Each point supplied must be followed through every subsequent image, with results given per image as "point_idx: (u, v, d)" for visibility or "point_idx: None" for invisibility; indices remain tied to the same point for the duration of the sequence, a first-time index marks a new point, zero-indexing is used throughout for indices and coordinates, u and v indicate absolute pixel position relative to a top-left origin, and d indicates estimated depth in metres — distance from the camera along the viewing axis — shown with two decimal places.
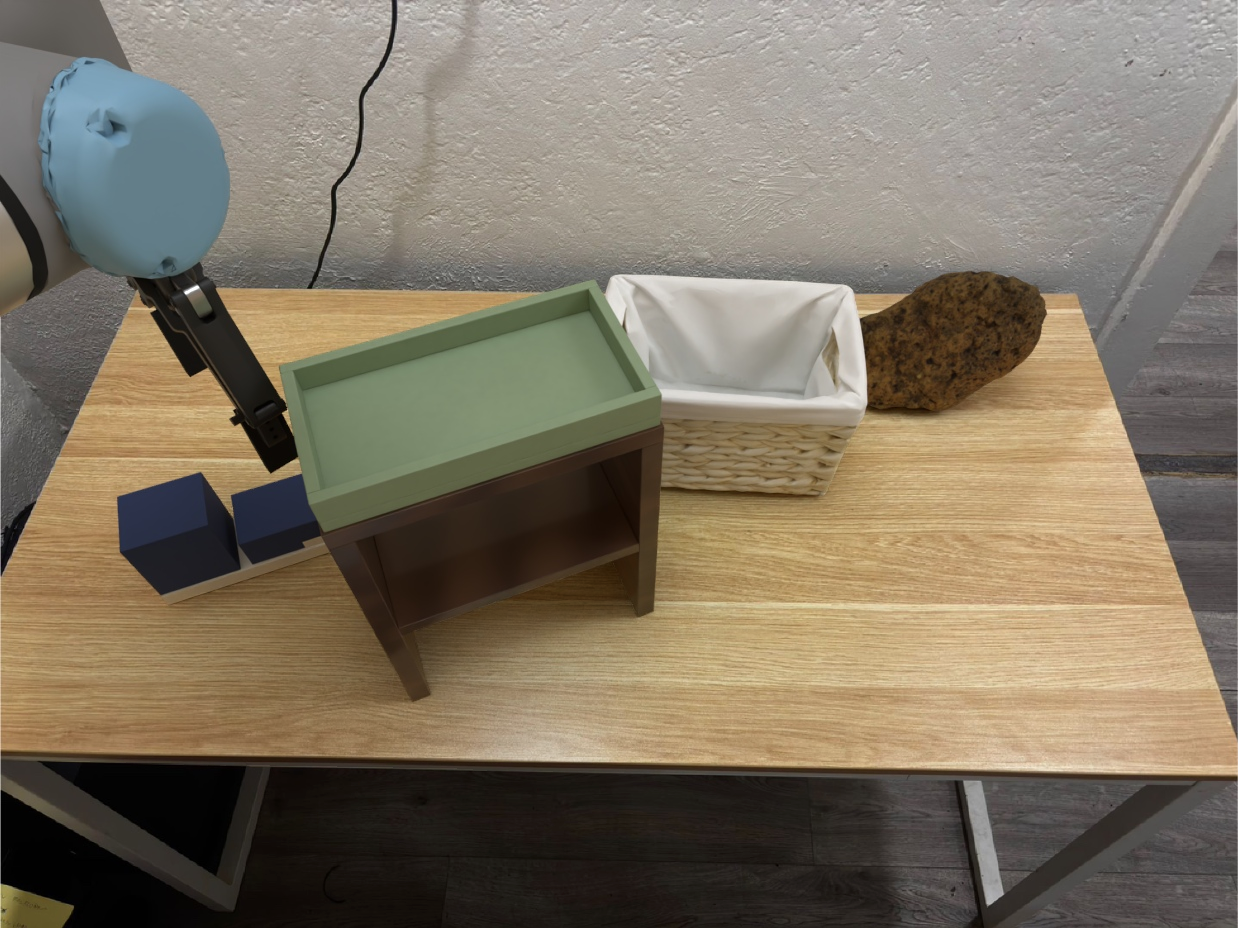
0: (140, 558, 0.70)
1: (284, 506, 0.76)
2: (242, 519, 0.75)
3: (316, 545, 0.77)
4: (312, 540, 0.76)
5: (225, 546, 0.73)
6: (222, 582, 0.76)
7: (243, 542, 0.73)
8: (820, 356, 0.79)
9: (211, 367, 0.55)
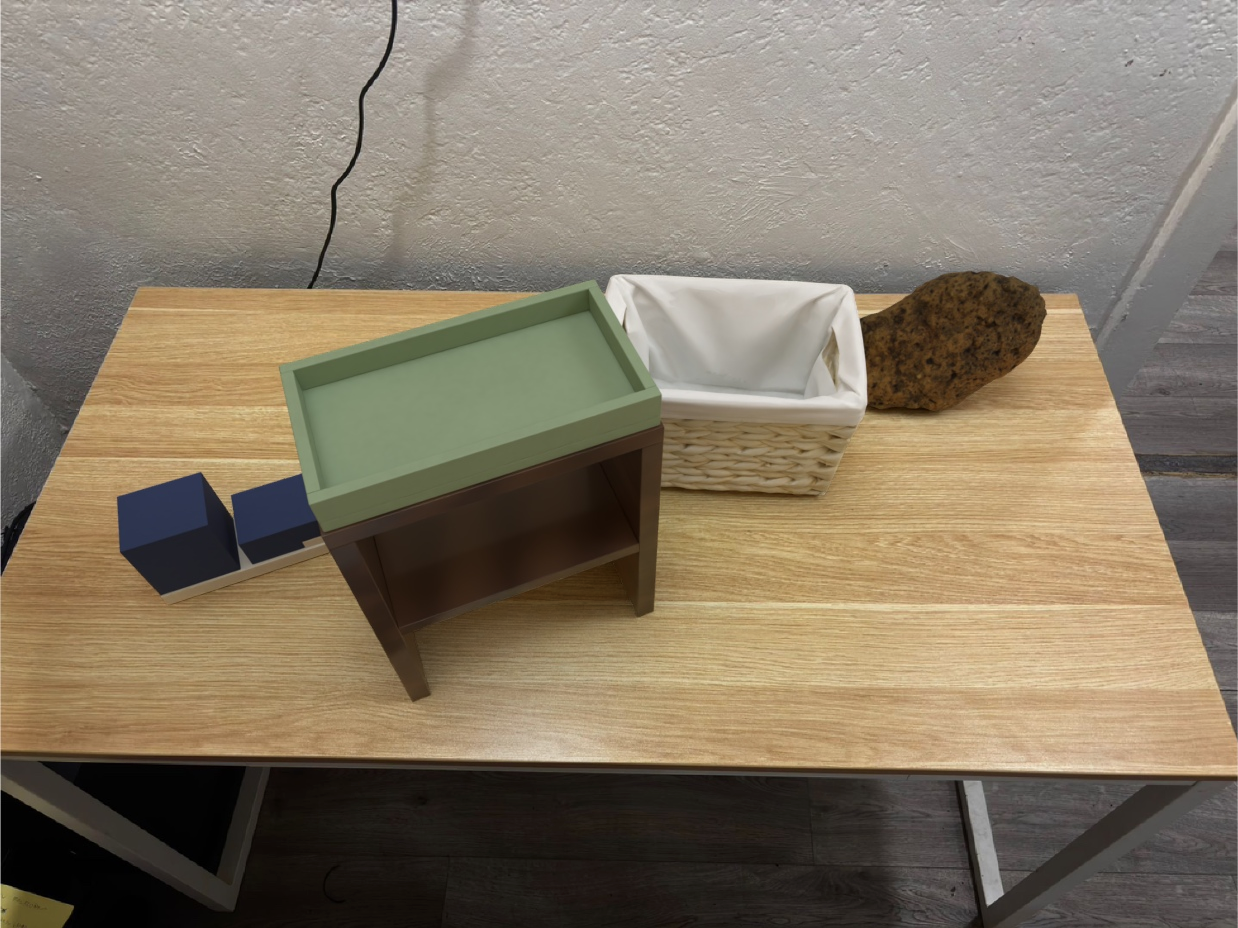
0: (140, 558, 0.70)
1: (284, 506, 0.76)
2: (242, 519, 0.75)
3: (316, 545, 0.77)
4: (312, 540, 0.76)
5: (225, 546, 0.73)
6: (222, 582, 0.76)
7: (243, 542, 0.73)
8: (820, 356, 0.79)
9: None
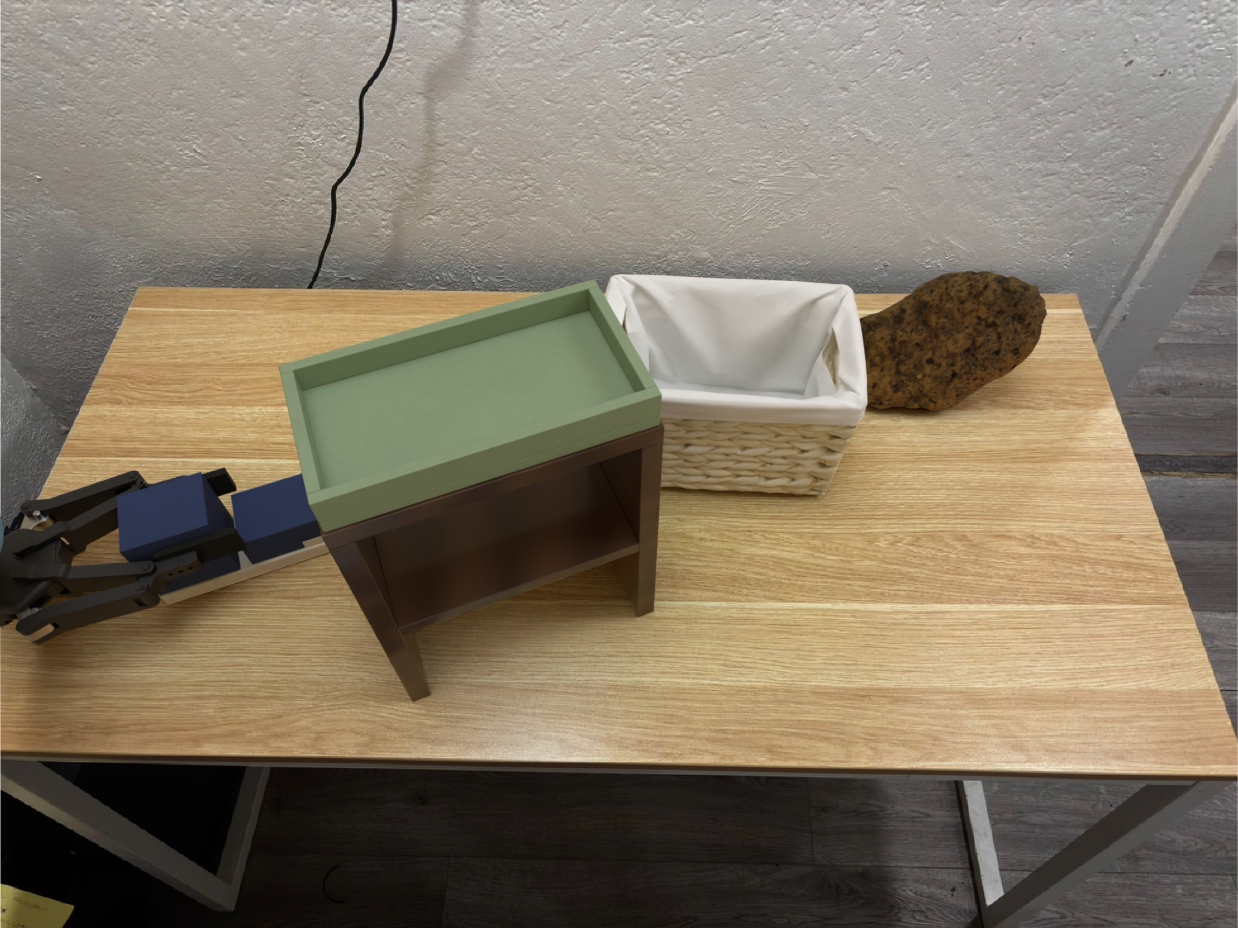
0: (140, 558, 0.70)
1: (284, 506, 0.76)
2: (242, 519, 0.75)
3: (316, 545, 0.77)
4: (311, 540, 0.76)
5: None
6: (222, 582, 0.76)
7: None
8: (820, 356, 0.79)
9: (100, 505, 0.73)
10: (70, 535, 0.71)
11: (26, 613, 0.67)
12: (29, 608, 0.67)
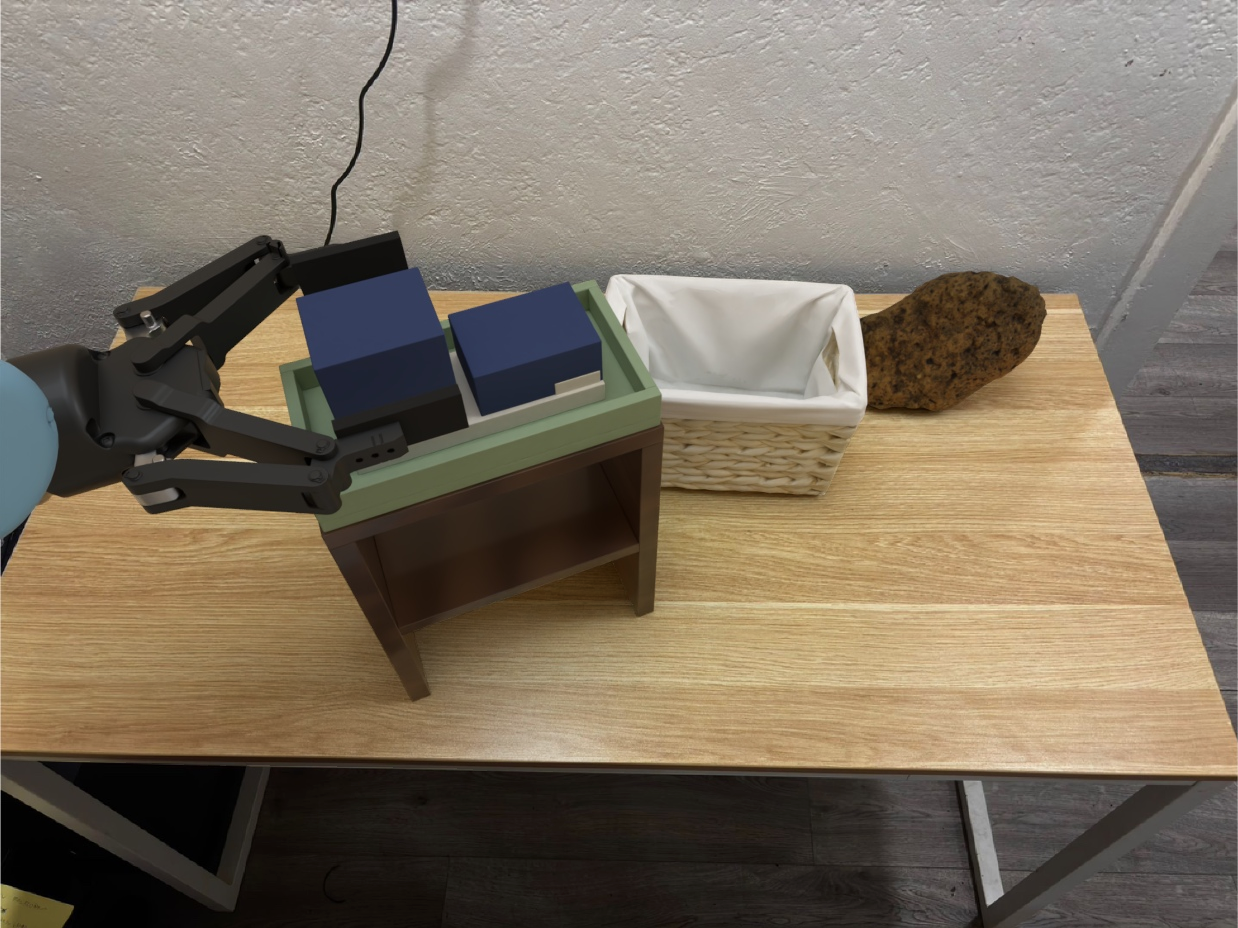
0: (340, 385, 0.45)
1: (531, 328, 0.51)
2: (471, 345, 0.50)
3: (570, 391, 0.52)
4: (567, 381, 0.51)
5: None
6: (438, 441, 0.51)
7: (480, 375, 0.48)
8: (820, 356, 0.79)
9: (229, 288, 0.48)
10: (208, 333, 0.46)
11: (148, 459, 0.41)
12: (156, 453, 0.42)
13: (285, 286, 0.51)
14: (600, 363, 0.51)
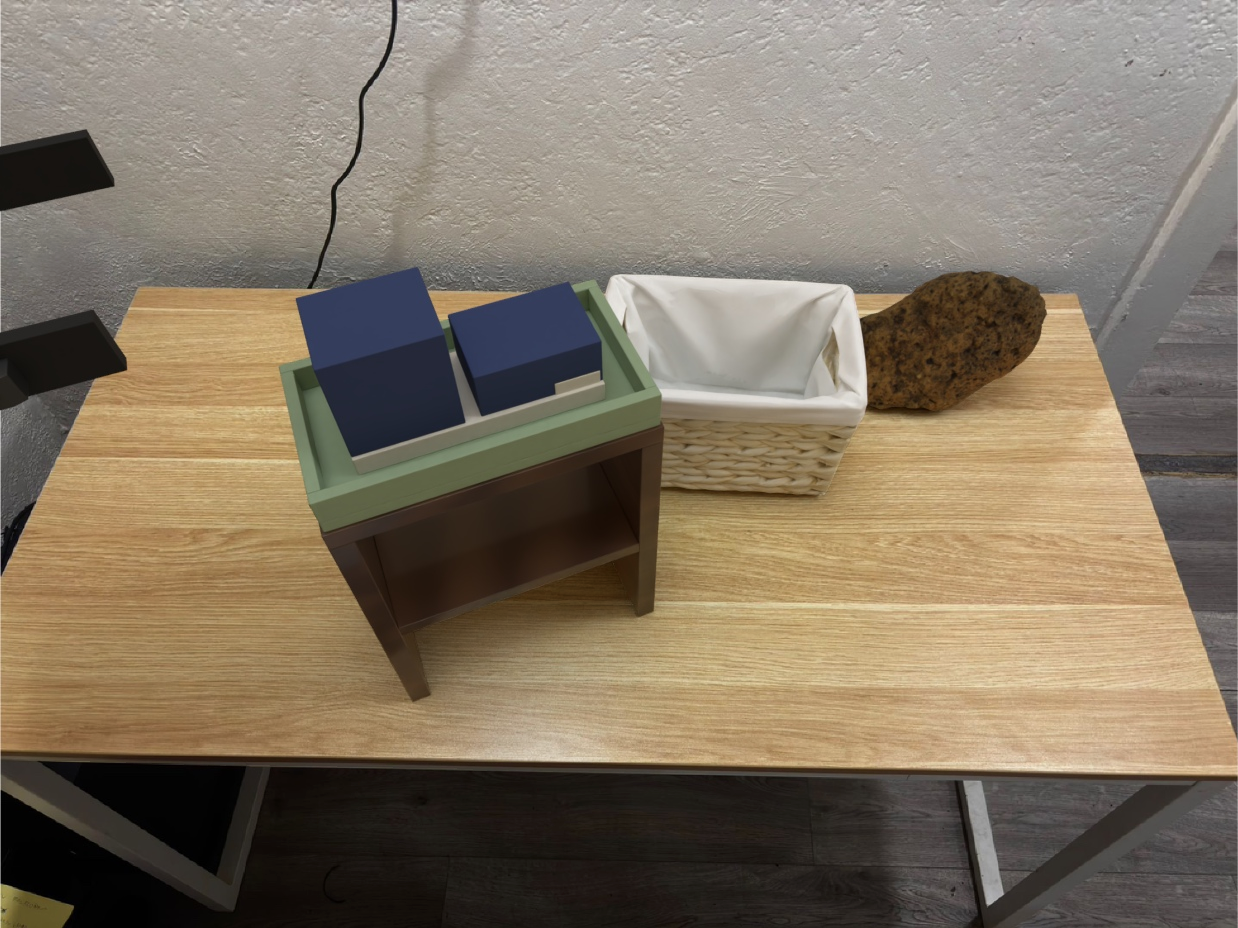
0: (340, 385, 0.45)
1: (531, 328, 0.51)
2: (471, 345, 0.50)
3: (570, 391, 0.52)
4: (567, 381, 0.51)
5: None
6: (438, 441, 0.51)
7: (480, 375, 0.48)
8: (820, 356, 0.79)
9: None
10: None
11: None
12: None
13: None
14: (600, 363, 0.51)
